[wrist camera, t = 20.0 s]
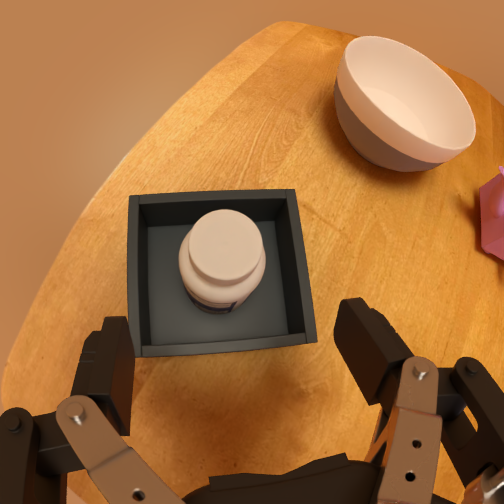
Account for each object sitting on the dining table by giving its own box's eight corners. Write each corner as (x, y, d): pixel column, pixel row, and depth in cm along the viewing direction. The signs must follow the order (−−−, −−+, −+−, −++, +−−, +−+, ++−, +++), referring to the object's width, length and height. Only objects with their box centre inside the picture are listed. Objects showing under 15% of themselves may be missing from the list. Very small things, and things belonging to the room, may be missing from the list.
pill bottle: (226, 239, 28) (239, 181, 18) (263, 291, 27) (295, 257, 18) (171, 272, 26) (156, 228, 17) (207, 328, 25) (210, 313, 16)
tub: (144, 357, 24) (130, 357, 19) (140, 222, 28) (128, 195, 23) (296, 344, 27) (317, 342, 22) (279, 216, 30) (295, 188, 25)
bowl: (445, 151, 37) (486, 111, 28) (398, 223, 32) (454, 181, 23) (357, 74, 39) (384, 24, 29) (287, 124, 33) (312, 59, 24)
